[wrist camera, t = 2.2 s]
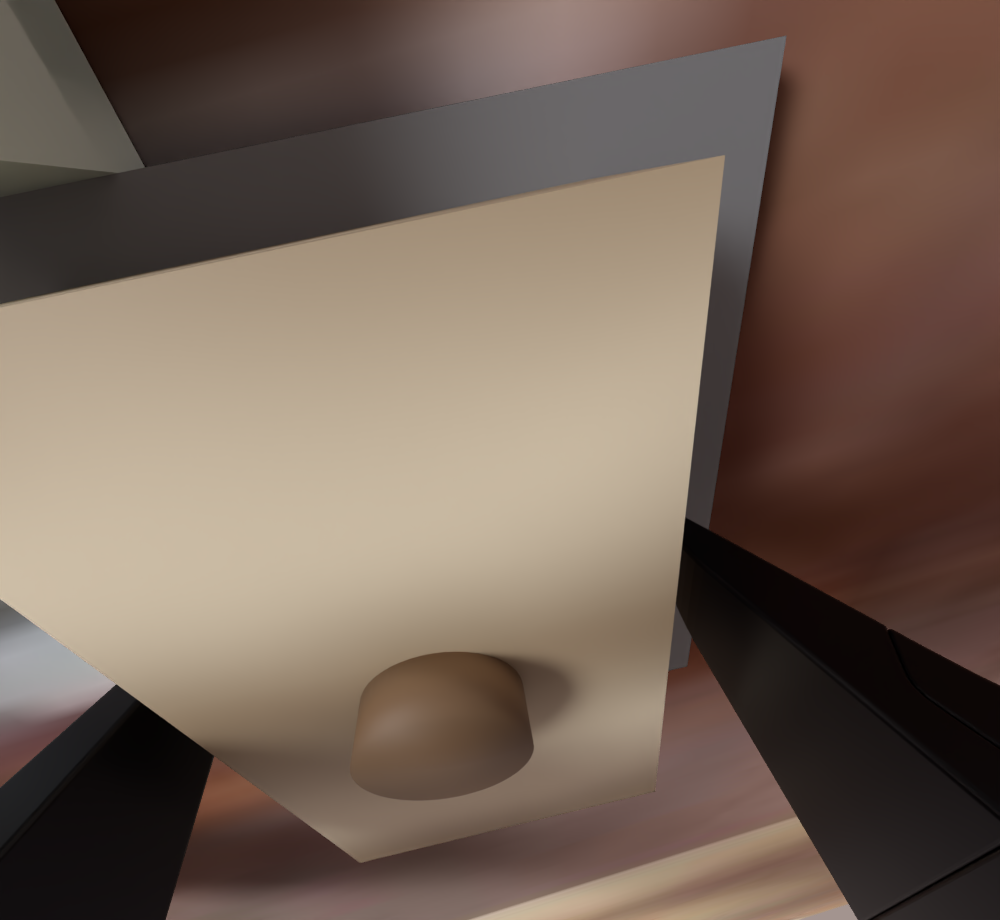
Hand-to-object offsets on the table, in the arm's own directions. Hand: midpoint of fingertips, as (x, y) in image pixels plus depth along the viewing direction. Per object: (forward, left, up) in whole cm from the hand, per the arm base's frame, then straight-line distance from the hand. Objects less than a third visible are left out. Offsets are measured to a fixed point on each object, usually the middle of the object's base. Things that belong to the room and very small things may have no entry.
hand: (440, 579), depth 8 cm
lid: (0, 0, -1) cm, 1 cm away
